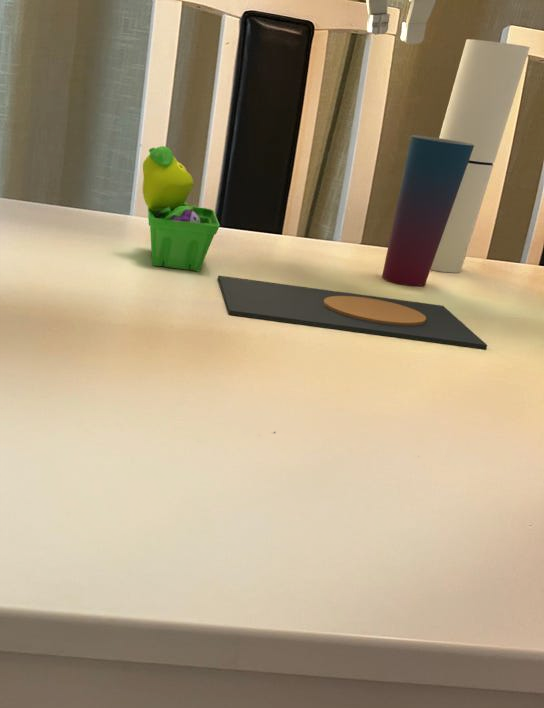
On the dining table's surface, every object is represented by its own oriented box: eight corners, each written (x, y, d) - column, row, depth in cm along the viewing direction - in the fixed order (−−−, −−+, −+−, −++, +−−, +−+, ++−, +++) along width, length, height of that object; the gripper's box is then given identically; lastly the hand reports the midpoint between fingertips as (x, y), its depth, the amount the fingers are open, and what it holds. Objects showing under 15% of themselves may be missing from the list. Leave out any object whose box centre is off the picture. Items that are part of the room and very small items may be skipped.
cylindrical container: (403, 264, 128) (466, 38, 115) (406, 256, 134) (466, 40, 121) (460, 275, 126) (531, 46, 114) (461, 266, 132) (528, 48, 119)
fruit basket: (212, 275, 107) (233, 160, 102) (129, 265, 107) (146, 148, 101) (205, 256, 117) (224, 149, 111) (130, 246, 117) (145, 139, 111)
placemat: (442, 309, 106) (444, 302, 106) (486, 349, 93) (488, 341, 92) (217, 279, 106) (218, 272, 106) (228, 314, 93) (230, 306, 92)
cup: (377, 282, 116) (415, 138, 108) (371, 271, 121) (407, 133, 114) (437, 291, 115) (479, 146, 107) (428, 279, 121) (468, 142, 113)
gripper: (498, -140, 86) (467, 47, 94) (406, -132, 102) (387, 27, 110) (427, -136, 85) (402, 51, 94) (346, -128, 102) (331, 30, 110)
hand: (393, 38), depth 102 cm, fingers open, 8 cm apart
